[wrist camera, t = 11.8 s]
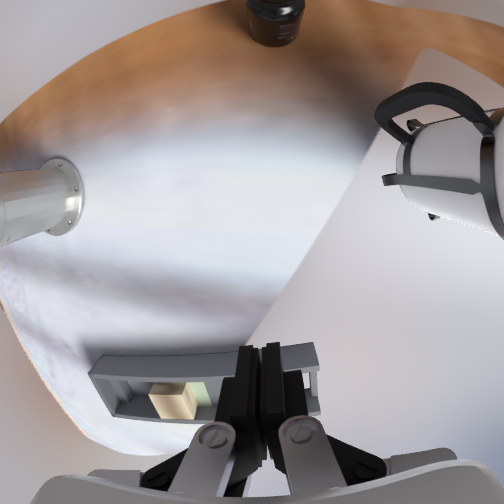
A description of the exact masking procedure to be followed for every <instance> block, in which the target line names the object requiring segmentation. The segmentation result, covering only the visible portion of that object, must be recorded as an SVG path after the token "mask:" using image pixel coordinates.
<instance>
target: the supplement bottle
mask: <svg viewBox="0 0 504 504" xmlns="http://www.w3.org/2000/svg"><path fill="white" fill-rule="evenodd" d="M246 7H247V16H248V24H249V31H250V34H251V36H252V37H253V38H254V39H255V40H256V41H257V42H258V43H260V44H262V45H265V46H268V47H282V46H285V45H288V44H290V43H291V42H292V41H294V40H295V38H296V37H297V35H298V32H299V28H300V24H301V20H302V17H303V13H304V9H305V0H246Z"/></svg>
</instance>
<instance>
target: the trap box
mask: <svg viewBox="0 0 504 504" xmlns="http://www.w3.org/2000/svg"><path fill="white" fill-rule="evenodd" d="M280 348H281V355H282V363H283V370H284V372H285V371H293V370H300V369H301V371H302V373H307V372H309V378H310V388H307V389H305V396H306V402H307V409H308V415H309V416H316V415H320V414H321V412H320V411H321V410H320V406H319V401H318V391H317V371H319V363H318V358H317V354H316V351H315V347H314V343H313V342H309V343H303V344H296V345H290V346H282V347H280ZM238 352H239V351H236V352H224V353H211V354H193V355H167V356H115V355H102V356H101V357H100V358H99V360H98V361H97V362H96V363H95V365H94V366H93V367H92V368H91V370H90V371H89V372H88V375H89V377H90V379H91V381H92V382H93V384H94V386H95V388H96V390H97V391H98V393H99V395H100V397H101V398H102V400H103V402H104V403H105V405H106V407H107V408H108V410H109V412H110V413H111V415H112V416H113V417H118V418H126V419H133V420H142V421H152V422H165V423H182V424H207V423H211V422H214V420H215V415H216V410H217V405H218V401H219V396H220V391H221V386H222V381H223V378H224V377H235V372H236V365H237V358H238ZM259 355H260V360H261V357H262V349H259ZM127 381H137V382H189V383H190V386H191V388H192V390H193V393H194V395H195V397H196V400H197V402H198V406H197V410H196V413H195V417H194V420H186V419H161V417H160V415H159V414H158V412H157V410H156V408H155V406H154V405H153V403H152V401H151V399H150V397H149V396H139V395H133V393H132V391H131V389H130V387H129V385H128V383H127Z"/></svg>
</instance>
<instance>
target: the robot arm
mask: <svg viewBox="0 0 504 504" xmlns="http://www.w3.org/2000/svg"><path fill="white" fill-rule="evenodd" d="M83 205H84V189H83V183H82V180H81V177H80V175H79V173H78V171H77V169H76V168H75V166H73V165H72V164H71V163H70V162H69V161H67V160H64V159H51V160H49V161H47V162H45V163H44V164H43V165H42V166H41V167H40V168H39V169H34V170H20V171H9V172H0V247H2V246H4V245H7V244H9V243H12V242H15V241H17V240H20V239H23V238H26V237H28V236H31V235H34V234H37V233H40V232H43V231H45V232H46V233H48V234H50V235H54V236H59V235H63V234H66V233H68V232H69V231H71V230H72V229H73V228H74V227H75V226H76V224H77V223H78V221H79V219H80V217H81V214H82V210H83ZM266 345H267V346H266V347H262V357H261V360H260V355H259V349H258V348H253V345H248V346H240V347H239V352H238V358H237V365H236V372H235V377H224V378H223V381H222V386H221V391H220V396H219V401H218V405H217V410H216V415H215V420H214V422H211V423H207V424H205V425H203V426H202V427H200V428H199V429H198V430H197V432H196V433H195V435H194V437H193V439H192V441H191V443H190V446H189V448H187V449H185V450H184V451H182V452H180V453H179V454H177V455H175V456H173V457H171V458H170V459H168V460H166V461H164V462H162V463H160V464H159V465H157V466H155V467H153V468H151V469H149V470H148V471H146V472H141V471H140V470H102V469H100V470H94V471H92V472H90V473H89V474H88V475H87V476H85V475H61V476H56V477H53V478H51V479H49V480H48V481H46V483H44V485H43V486H42V487H41V488H40V489H39V491H38V492H37V494H36V495H35V497H34V498H33V500H32V502H31V503H30V504H504V488H503V486H502V485H501V483H500V481H499V480H498V478H497V477H496V475H495V474H494V473H493V471H492V470H491V469H490V468H489V467H488V466H487V465H485V464H484V463H482V462H481V461H478V460H471V459H459V460H457V457H456V455H455V453H454V452H453V451H452V450H451V449H448V448H437V449H432V450H427V451H421V452H415V453H409V454H402V455H394V456H391V457H390V458H387V459H381V458H379V457H377V456H375V455H372V454H370V453H368V452H365V451H363V450H360V449H358V448H356V447H353V446H351V445H348V444H346V443H344V442H342V441H340V440H337V439H335V438H333V437H331V436H329V435H327V434H326V433H325V431H324V429H323V426H322V424H321V423H320V421H319V420H317V419H316V418H314V417H311V416H309V415H308V409H307V402H306V396H305V389H304V383H303V377H302V371H301V369H300V370H293V371H285V372H284V370H283V363H282V355H281V348H280V342H275V343H267V344H266ZM267 446H268V450H269V454H270V458H271V459H273V460H274V464H275V468H276V469H278V470H279V471H281V472H282V473H284V474H286V478H287V481H288V486H289V489H290V494H291V495H287V496H274V497H247V493H248V490H249V486H250V482H251V474H252V473H253V472H255V471H256V470H257V469H258V467H262V460H267Z"/></svg>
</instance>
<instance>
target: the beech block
mask: <svg viewBox="0 0 504 504" xmlns="http://www.w3.org/2000/svg"><path fill="white" fill-rule="evenodd" d="M148 395H149V397H150V399H151V401H152V403H153V405H154V406H155V408H156V410H157V412H158V414H159V415H160V417H161V419H186V420H194V417H195V413H196V410H197V406H198V402H197V400H196V397H195V395H194V393H193V390H192V388H191V386H190V383H189V382H154V383H153V385H152V387H151V389H150V391H149V394H148Z"/></svg>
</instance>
